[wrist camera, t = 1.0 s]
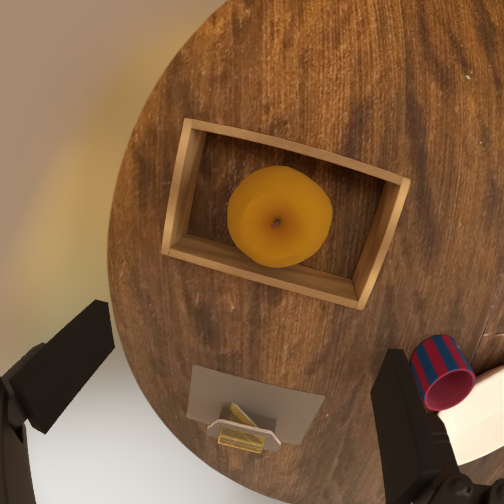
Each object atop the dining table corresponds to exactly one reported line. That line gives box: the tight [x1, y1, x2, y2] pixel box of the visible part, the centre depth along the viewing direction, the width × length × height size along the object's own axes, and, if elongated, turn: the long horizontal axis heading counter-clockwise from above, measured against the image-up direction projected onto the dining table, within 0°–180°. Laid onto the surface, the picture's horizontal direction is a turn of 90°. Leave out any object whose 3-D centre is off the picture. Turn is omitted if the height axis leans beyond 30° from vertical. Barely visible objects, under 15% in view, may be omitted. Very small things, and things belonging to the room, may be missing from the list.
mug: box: [411, 335, 475, 411], centre depth 32 cm, size 7×10×7 cm
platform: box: [186, 364, 326, 453], centre depth 38 cm, size 12×18×7 cm, turn 78°
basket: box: [161, 118, 411, 310], centre depth 29 cm, size 13×20×5 cm, turn 76°
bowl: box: [437, 365, 504, 465], centre depth 33 cm, size 22×22×5 cm
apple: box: [227, 165, 333, 268], centre depth 27 cm, size 8×8×9 cm
